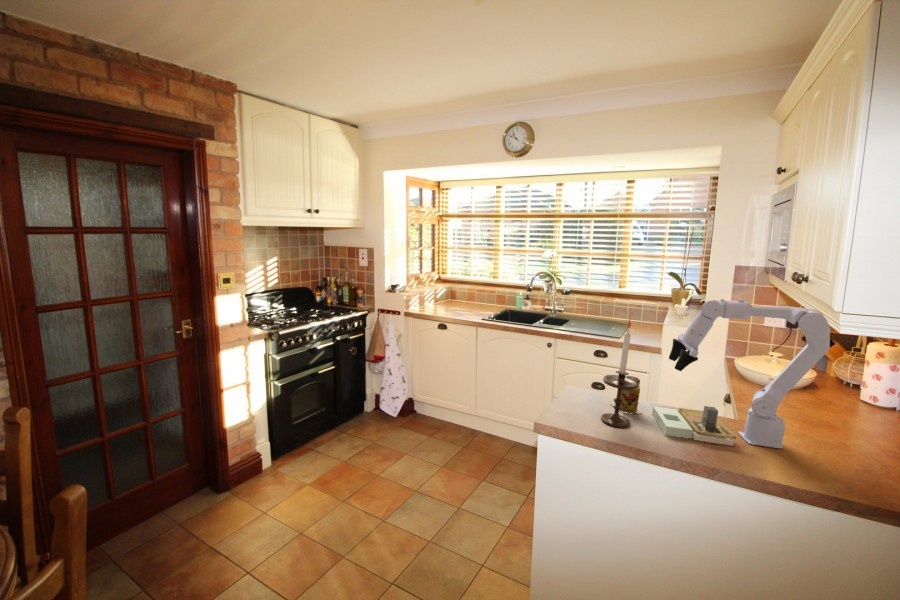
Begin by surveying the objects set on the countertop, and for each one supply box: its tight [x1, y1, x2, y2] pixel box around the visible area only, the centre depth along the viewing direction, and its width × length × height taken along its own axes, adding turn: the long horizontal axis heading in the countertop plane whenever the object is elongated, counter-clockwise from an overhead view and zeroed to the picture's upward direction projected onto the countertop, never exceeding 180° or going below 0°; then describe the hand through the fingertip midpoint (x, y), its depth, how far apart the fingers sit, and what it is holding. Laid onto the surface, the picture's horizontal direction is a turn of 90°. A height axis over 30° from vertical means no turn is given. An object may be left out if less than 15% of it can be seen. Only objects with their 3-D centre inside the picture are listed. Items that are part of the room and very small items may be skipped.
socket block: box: [685, 420, 735, 447], centre depth 138 cm, size 11×11×2 cm
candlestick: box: [600, 319, 640, 429], centre depth 140 cm, size 11×11×35 cm
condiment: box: [610, 375, 643, 414], centre depth 154 cm, size 7×8×12 cm
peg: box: [691, 405, 720, 434], centre depth 137 cm, size 8×8×9 cm
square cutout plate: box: [651, 406, 693, 439], centre depth 142 cm, size 8×16×3 cm, turn 169°
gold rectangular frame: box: [677, 407, 737, 440], centre depth 140 cm, size 11×18×2 cm, turn 169°
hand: (674, 364), depth 149 cm, fingers open, 7 cm apart
